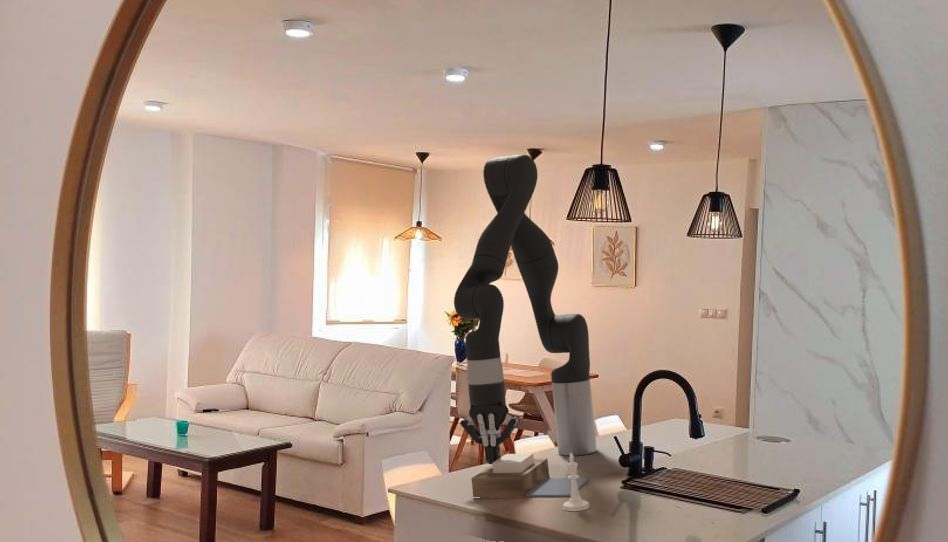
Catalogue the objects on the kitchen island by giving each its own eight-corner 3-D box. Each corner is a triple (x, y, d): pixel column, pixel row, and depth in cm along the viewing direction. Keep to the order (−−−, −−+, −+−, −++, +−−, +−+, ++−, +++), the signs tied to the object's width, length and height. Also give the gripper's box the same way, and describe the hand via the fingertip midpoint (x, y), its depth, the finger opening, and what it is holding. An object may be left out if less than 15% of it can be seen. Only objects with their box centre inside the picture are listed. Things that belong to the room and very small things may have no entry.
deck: (503, 477, 196) (501, 459, 196) (549, 477, 192) (547, 458, 192) (473, 498, 179) (471, 478, 179) (523, 498, 176) (521, 477, 176)
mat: (545, 480, 190) (545, 478, 190) (589, 479, 186) (589, 477, 186) (524, 496, 176) (524, 494, 176) (571, 496, 173) (571, 494, 173)
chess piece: (559, 511, 163) (554, 456, 163) (567, 504, 168) (562, 450, 168) (585, 511, 161) (580, 455, 161) (593, 504, 166) (587, 450, 166)
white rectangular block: (507, 463, 191) (506, 454, 191) (534, 462, 189) (533, 453, 189) (493, 473, 183) (492, 463, 183) (521, 472, 180) (520, 462, 180)
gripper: (521, 376, 189) (529, 459, 188) (463, 379, 194) (470, 460, 193) (509, 381, 182) (517, 467, 181) (449, 384, 187) (457, 467, 186)
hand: (493, 463), depth 187 cm, fingers closed
